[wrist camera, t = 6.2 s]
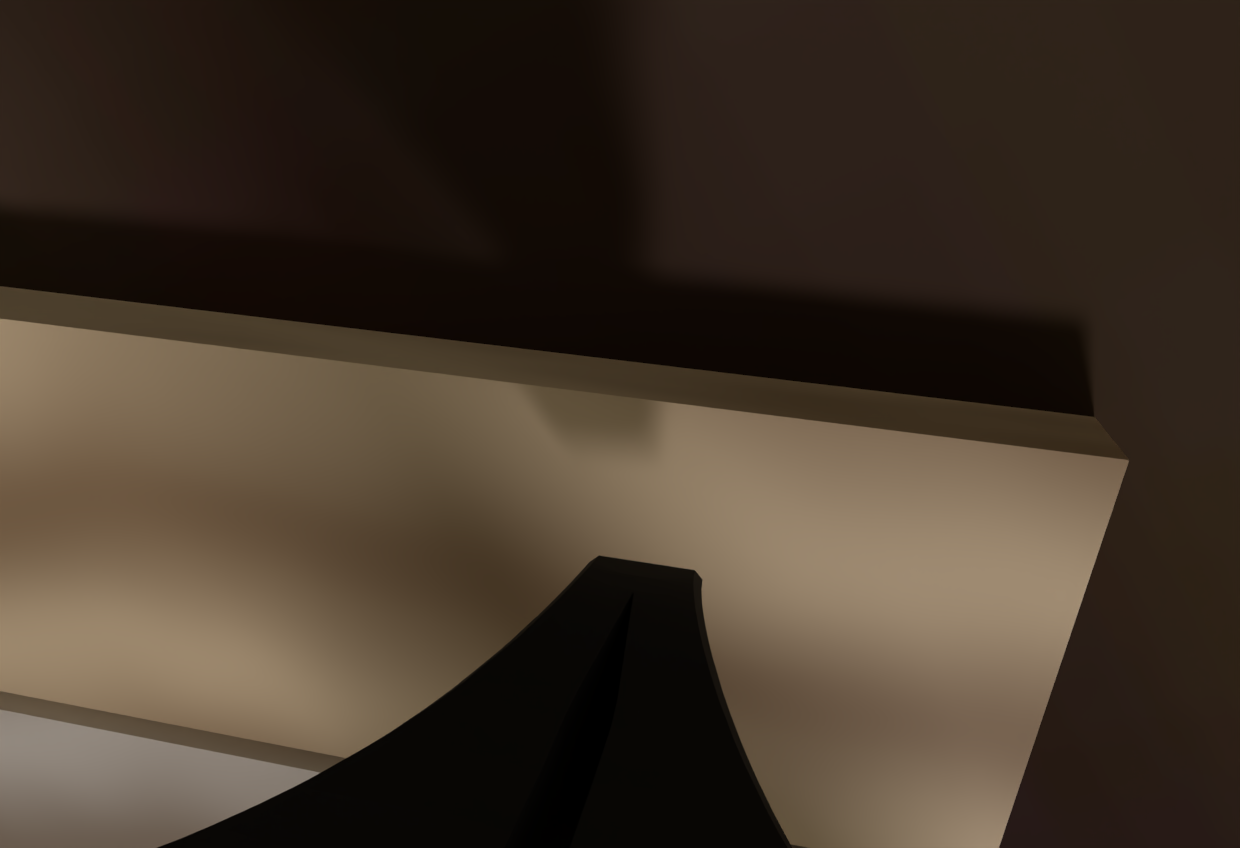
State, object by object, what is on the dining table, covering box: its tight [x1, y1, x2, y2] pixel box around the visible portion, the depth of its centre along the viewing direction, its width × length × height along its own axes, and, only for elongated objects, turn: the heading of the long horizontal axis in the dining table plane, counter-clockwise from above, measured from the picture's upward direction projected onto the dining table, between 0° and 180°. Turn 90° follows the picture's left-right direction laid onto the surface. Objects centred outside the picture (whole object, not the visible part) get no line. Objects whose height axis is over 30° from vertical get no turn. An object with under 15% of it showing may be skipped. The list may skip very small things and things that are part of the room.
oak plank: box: [0, 286, 1129, 848], centre depth 15 cm, size 8×22×2 cm, turn 87°
